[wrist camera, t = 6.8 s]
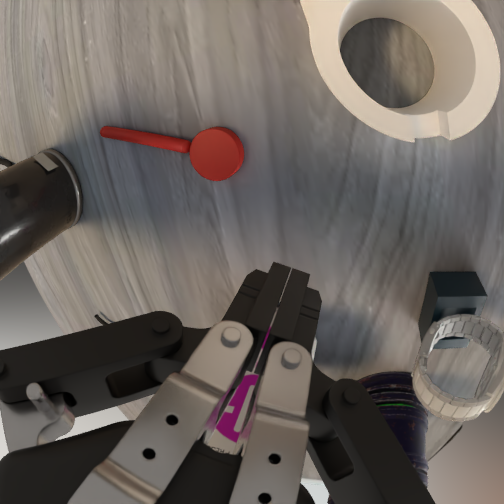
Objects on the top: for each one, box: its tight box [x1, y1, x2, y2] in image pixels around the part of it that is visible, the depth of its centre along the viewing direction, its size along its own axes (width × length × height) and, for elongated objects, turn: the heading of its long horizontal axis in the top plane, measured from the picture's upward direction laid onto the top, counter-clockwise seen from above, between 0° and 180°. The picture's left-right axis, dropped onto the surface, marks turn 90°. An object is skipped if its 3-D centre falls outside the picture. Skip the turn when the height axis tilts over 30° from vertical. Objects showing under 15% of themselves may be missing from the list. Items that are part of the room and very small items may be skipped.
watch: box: [411, 272, 504, 421], centre depth 16 cm, size 6×8×11 cm
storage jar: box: [327, 372, 428, 504], centre depth 22 cm, size 10×10×18 cm
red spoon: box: [100, 126, 244, 181], centre depth 21 cm, size 13×4×1 cm, turn 80°
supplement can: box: [207, 307, 317, 454], centre depth 22 cm, size 8×8×15 cm
